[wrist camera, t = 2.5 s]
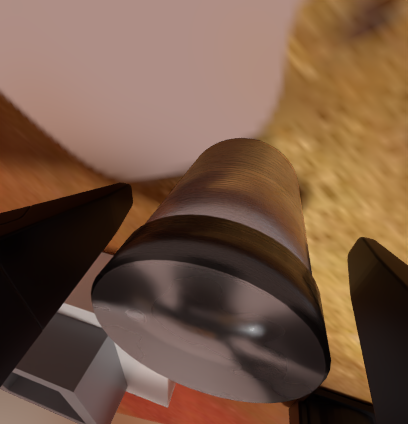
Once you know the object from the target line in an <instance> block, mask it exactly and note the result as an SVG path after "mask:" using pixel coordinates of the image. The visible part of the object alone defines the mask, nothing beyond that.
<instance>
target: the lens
mask: <svg viewBox="0 0 408 424" xmlns="http://www.w3.org/2000/svg"><path fill="white" fill-rule="evenodd" d="M91 301H92V306H93V310H94V313H95V316H96V318H97V320H98V322H99V323H100V325H101V327H102V328H103V330H104V331H105V332H106V333H107V335H108V336H109V337H110V338H111V339H112V340H113V341H114V342H115V343H116V344H117V345H118V346H119V347H120V348H121V349H122V350H124V351H125V352H126V353H127V354H129V355H130V356H131V357H132V358H134V359H135V360H137V361H138V362H140V363H141V364H143V365H144V366H146V367H147V368H149V369H151V370H153V371H154V372H156V373H158V374H160V375H162V376H164V377H166V378H168V379H170V380H172V381H174V382H176V383H179V384H181V385H183V386H186V387H188V388H191V389H194V390H197V391H200V392H203V393H206V394H210V395H213V396H217V397H221V398H226V399H231V400H236V401H243V402H253V403H277V402H285V401H291V400H295V399H298V398H301V397H303V396H305V395H308V394H310V393H311V392H312V391H314V390H315V389H316V388H317V387H318V386H319V385H321V384H322V383H323V381H324V380H325V379H326V378H327V375H328V373H329V371H330V365H331V357H330V351H329V345H328V339H327V334H326V328H325V322H324V316H323V310H322V304H321V298H320V293H319V289H318V287H317V284H316V282H315V280H314V278H313V276H312V271H311V265H310V258H309V251H308V244H307V238H306V231H305V224H304V218H303V211H302V204H301V198H300V191H299V184H298V179H297V175H296V173H295V170H294V168H293V166H292V165H291V163H290V162H289V161H288V159H287V158H286V157H285V156H284V155H283V154H282V153H281V152H280V151H278V150H277V149H276V148H274V147H272V146H270V145H269V144H266V143H264V142H261V141H258V140H254V139H247V138H235V139H229V140H225V141H221V142H219V143H217V144H215V145H213V146H211V147H210V148H208V149H207V150H205V151H204V152H203V153H202V154H201V155H200V156H199V158H198V159H197V160H196V161H195V162H194V164H193V165H192V166H191V167H190V169H189V170H188V171H187V172H186V174H185V175H184V176H183V177H182V179H181V180H180V181H179V182H178V184H177V185H176V186H175V187H174V189H173V190H172V191H171V192H170V193H169V195H168V196H167V197H166V198H165V200H164V201H163V202H162V203H161V205H160V206H159V207H158V208H157V210H156V211H155V212H154V213H153V215H152V216H151V217H150V218H149V220H148V221H147V222H146V223H145V225H143V226H141V227H140V228H138V229H137V230H136V231H134V232H133V233H132V234H131V236H130V237H129V238H128V239H127V240H126V241H125V243H124V244H123V245H122V246H121V247H120V249H119V250H118V251H117V252H116V253H115V255H114V256H113V257H112V258H111V259H110V261H109V262H108V263H107V264H106V265H105V267H104V268H103V269H102V270H101V271H100V273H99V274H98V275H97V276H96V278H95V280H94V282H93V284H92V288H91Z"/></svg>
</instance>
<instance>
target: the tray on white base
mask: <svg viewBox="0 0 408 424" xmlns="http://www.w3.org/2000/svg"><path fill="white" fill-rule="evenodd" d="M113 256H114V255H110V254H107V253H103V252H102V253H101V254H100V255H99V257H98V258H97V259H96V261H95V262H94V263H93V265H92V266H91V267H90V269H89V270H88V271H87V273H86V274H85V275H84V277H83V278H82V279H81V281H80V282H79V283H78V285H77V286H76V287H75V289H74V290H73V291H72V293H71V294H70V295H69V297H68V298H67V299H66V301H65V302H64V303H63V305H62V306H61V307H60V309H59V310H58V311H57V313H56V314H55V315H54V317H53V318H52V319H51V321H50V322H49V323H48V325H47V326H46V327H45V329H44V330H43V331H42V333H41V334H40V335H39V337H38V338H37V339H36V341H35V342H34V343H33V345H32V346H31V347H30V349H29V350H28V351H27V353H26V354H25V355H24V357H23V358H22V359H21V361H20V362H19V363H18V365H17V366H16V367H15V369H14V370H13V371H12V373H11V374H10V375H9V377H8V378H7V379H6V381H5V382H4V383H3V385H2V386H1V387H0V389H2V390H3V391H6V392H8V393H10V394H12V395H15V396H17V397H19V398H21V399H24V400H26V401H28V402H31V403H33V404H35V405H38V406H40V407H42V408H44V409H46V410H49V411H51V412H53V413H55V414H58V415H60V416H63V417H65V418H67V419H69V420H71V421H74V422H76V423H78V424H111V421H112V419H113V417H114V415H115V413H116V411H117V408H118V406H119V404H120V402H121V400H122V398H123V395H124V393H125V391H127V392H130V393H132V394H135V395H137V396H140V397H142V398H145V399H147V400H150V401H152V402H155V403H157V404H160V405H162V406H165V407H167V408H168V406H169V403H170V400H171V396H172V393H173V390H174V387H175V384H176V382H174V381H172V380H170V379H168V378H166V377H164V376H162V375H160V374H158V373H156V372H154V371H153V370H151V369H149V368H147V367H146V366H144V365H143V364H141V363H140V362H138V361H137V360H135V359H134V358H132V357H131V356H130V355H129V354H127V353H126V352H125V351H124V350H122V349H121V348H120V347H119V346H118V345H117V344H116V343H115V342H114V341H113V340H112V339H111V338H110V337H109V336H108V335H107V333H106V332H105V331H104V330H103V328H102V327H101V325H100V323H99V322H98V320H97V318H96V316H95V313H94V310H93V306H92V301H91V288H92V284H93V282H94V280H95V278H96V276H97V275H98V274H99V273H100V271H101V270H102V269H103V268H104V267H105V265H106V264H107V263H108V262H109V261H110V259H111V258H112V257H113Z"/></svg>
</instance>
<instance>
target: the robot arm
mask: <svg viewBox="0 0 408 424" xmlns="http://www.w3.org/2000/svg"><path fill="white" fill-rule="evenodd" d="M132 204H133V197H132V188H131V186H130V185H129V184H126V183H117V184H113V185H109V186H105V187H101V188H97V189H93V190H90V191H86V192H82V193H78V194H74V195H70V196H66V197H62V198H59V199H55V200H51V201H47V202H43V203H39V204H35V205H32V206H27V207H23V208H20V209H15V210H11V211H7V212H3V213H0V387H1V386H2V385H3V383H4V382H5V381H6V379H7V378H8V377H9V375H10V374H11V373H12V371H13V370H14V369H15V367H16V366H17V365H18V363H19V362H20V361H21V359H22V358H23V357H24V355H25V354H26V353H27V351H28V350H29V349H30V347H31V346H32V345H33V343H34V342H35V341H36V339H37V338H38V337H39V335H40V334H41V333H42V331H43V330H44V329H45V327H46V326H47V325H48V323H49V322H50V321H51V319H52V318H53V317H54V315H55V314H56V313H57V311H58V310H59V309H60V307H61V306H62V305H63V303H64V302H65V301H66V299H67V298H68V297H69V295H70V294H71V293H72V291H73V290H74V289H75V287H76V286H77V285H78V283H79V282H80V281H81V279H82V278H83V277H84V275H85V274H86V273H87V271H88V270H89V269H90V267H91V266H92V265H93V263H94V262H95V261H96V259H97V258H98V257H99V255H100V254H101V253H102V251H103V250H104V249H105V247H106V246H107V245H108V243H109V242H110V241H111V239H112V238H113V237H114V235H115V234H116V232H117V231H118V229H119V227H120V226H121V224H122V222H123V221H124V219H125V217H126V215H127V214H128V212H129V210H130V209H131V207H132ZM348 272H349V285H350V295H351V301H352V306H353V311H354V316H355V321H356V326H357V330H358V335H359V340H360V345H361V350H362V355H363V359H364V364H365V369H366V374H367V379H368V384H369V388H370V393H371V398H372V403H373V407H371V406H368V405H365V404H362V403H359V402H356V401H353V400H350V399H347V398H344V397H342V396H339V395H336V394H333V393H330V392H327V391H324V390H321V389H318V388H316V389H315V390H314V391H312V392H311V393H310V394H308V395H305V396H303V397H301V398H300V399H299V400H298V401H297V402H296V403H295V404H294V405H292V406H291V407H290V408H289V422H290V424H408V265H407V264H405V263H404V262H403V261H401V260H400V259H399V258H398V257H396V256H395V255H394V254H392V253H391V252H390V251H388V250H387V249H386V248H385V247H383V246H382V245H381V244H379V243H378V242H377V241H375V240H374V239H370V238H365V237H360V238H359V239H358V240H357V241H356V243H355V244H354V246H353V247H352V249H351V250H350V252H349V254H348Z"/></svg>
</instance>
